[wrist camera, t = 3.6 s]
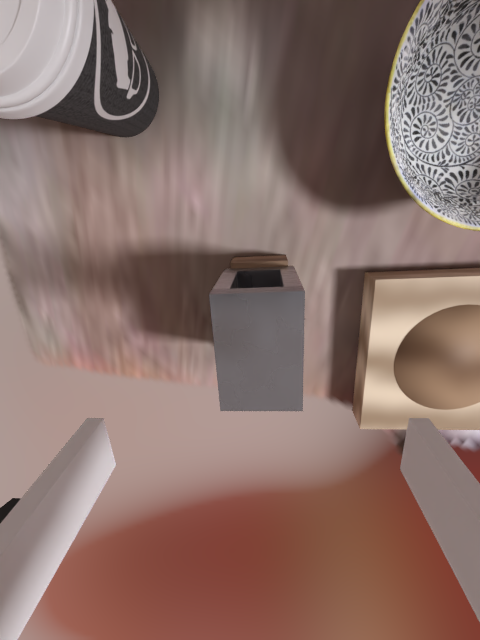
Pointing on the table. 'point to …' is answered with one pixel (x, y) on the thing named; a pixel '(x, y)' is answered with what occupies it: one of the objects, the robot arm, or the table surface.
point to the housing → (259, 338)
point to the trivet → (419, 349)
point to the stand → (259, 261)
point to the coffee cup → (74, 66)
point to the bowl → (438, 110)
